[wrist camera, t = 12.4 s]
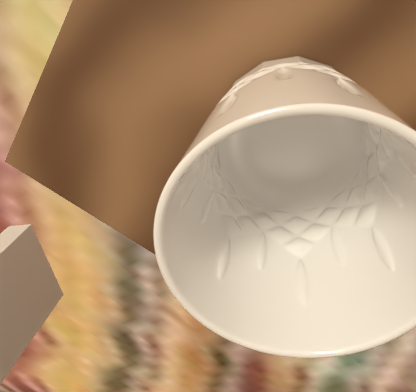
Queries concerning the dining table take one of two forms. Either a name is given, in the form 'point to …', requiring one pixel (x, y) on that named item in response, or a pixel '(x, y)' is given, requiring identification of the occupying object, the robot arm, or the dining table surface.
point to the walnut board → (184, 86)
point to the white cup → (295, 216)
